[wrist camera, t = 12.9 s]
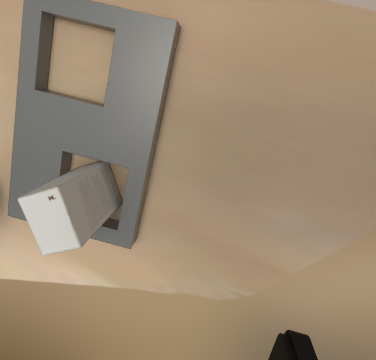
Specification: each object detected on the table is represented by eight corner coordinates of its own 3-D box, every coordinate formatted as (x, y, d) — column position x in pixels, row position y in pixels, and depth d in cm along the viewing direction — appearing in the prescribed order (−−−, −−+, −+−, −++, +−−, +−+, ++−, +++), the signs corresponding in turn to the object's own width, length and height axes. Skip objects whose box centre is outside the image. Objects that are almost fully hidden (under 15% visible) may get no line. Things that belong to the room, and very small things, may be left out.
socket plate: (180, 26, 33) (177, 21, 30) (135, 240, 40) (130, 249, 38) (39, -7, 34) (24, -15, 31) (20, 208, 41) (7, 215, 38)
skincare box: (77, 167, 38) (14, 196, 27) (108, 158, 38) (57, 185, 26) (93, 211, 40) (40, 257, 28) (124, 203, 39) (82, 248, 27)
